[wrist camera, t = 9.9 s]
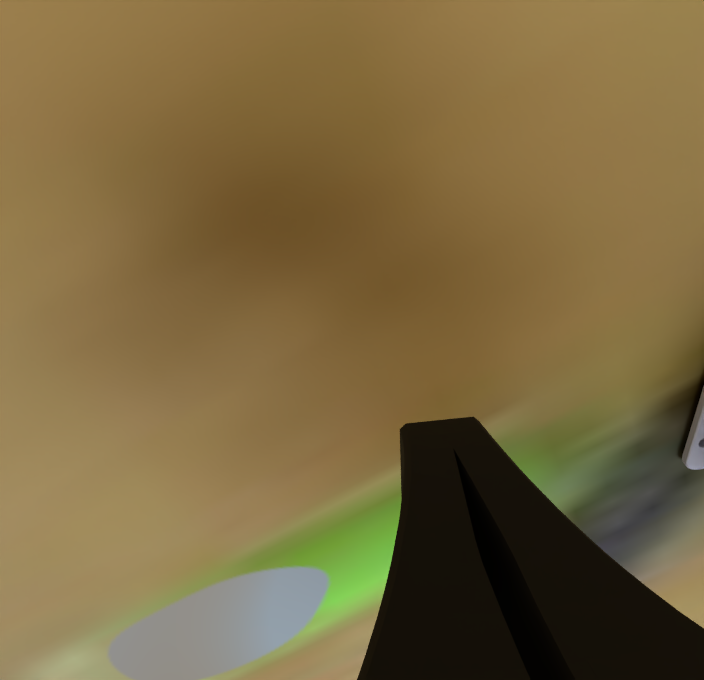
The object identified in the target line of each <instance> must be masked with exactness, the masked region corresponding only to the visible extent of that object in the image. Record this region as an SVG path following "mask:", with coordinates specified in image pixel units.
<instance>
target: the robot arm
mask: <svg viewBox="0 0 704 680" xmlns="http://www.w3.org/2000/svg"><path fill="white" fill-rule="evenodd" d="M400 454H401V491H402V502H401V511H400V518H399V524H398V530H397V535H396V540H395V546H394V551H393V556H392V561H391V566H390V570H389V574H388V579H387V583H386V587H385V591H384V594H383V598H382V602H381V606H380V609H379V613H378V616H377V620H376V623H375V626H374V629H373V633H372V636H371V639H370V642H369V645H368V649H367V652H366V655H365V658H364V661H363V664H362V667H361V670H360V673H359V676H358V678H357V680H704V628H702V627H701V626H699V625H698V624H696V623H695V622H693V621H692V620H691V619H689V618H688V617H686V616H685V615H683V614H682V613H680V612H679V611H678V610H676V609H675V608H674V607H673V606H671V605H670V604H669V603H667V602H666V601H665V600H663V599H662V598H661V597H659V596H658V595H657V594H655V593H654V592H653V591H651V590H650V589H649V588H648V587H646V586H645V585H644V584H643V583H641V582H640V581H639V580H638V579H636V578H635V577H634V576H633V575H632V574H630V573H629V572H628V571H627V570H625V569H624V568H623V567H622V566H620V565H619V564H618V563H617V562H616V561H615V560H613V559H612V558H611V557H610V556H609V555H608V554H606V553H605V552H604V551H603V550H602V549H601V548H600V547H598V546H597V545H596V544H595V543H594V542H593V541H592V540H591V539H590V538H589V537H587V536H586V535H585V534H584V533H583V532H582V531H581V530H580V529H579V528H578V527H577V526H576V525H574V524H573V523H572V522H571V521H570V520H569V519H568V518H567V517H566V516H565V515H564V514H563V513H562V512H561V511H560V510H559V509H558V508H557V507H556V506H555V505H554V504H553V503H552V502H551V501H550V500H549V499H548V498H547V497H546V496H545V495H544V494H543V493H542V492H541V491H540V490H539V489H538V488H537V487H536V486H535V485H534V484H533V483H532V481H531V480H530V479H529V478H528V477H527V476H526V475H525V474H524V473H523V472H522V471H521V470H520V469H519V467H518V466H517V465H516V464H515V463H514V462H513V461H512V460H511V458H510V457H509V456H508V455H507V454H506V453H505V452H504V451H503V449H502V448H501V447H500V446H499V445H498V444H497V442H496V441H495V440H494V439H493V438H492V436H491V435H490V434H489V433H488V432H487V430H486V429H485V428H484V427H483V426H482V424H481V423H480V422H479V421H478V420H477V419H476V418H474V417H466V418H456V419H447V420H437V421H427V422H417V423H407V424H405V425H404V426H403V427H402V428H401V429H400ZM682 461H683V463H684V464H685V465H686V466H687V468H689V469H693V470H697V469H704V387H703V390H702V393H701V397H700V400H699V403H698V406H697V410H696V413H695V416H694V419H693V423H692V426H691V429H690V432H689V436H688V439H687V442H686V446H685V449H684V452H683V455H682Z"/></svg>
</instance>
